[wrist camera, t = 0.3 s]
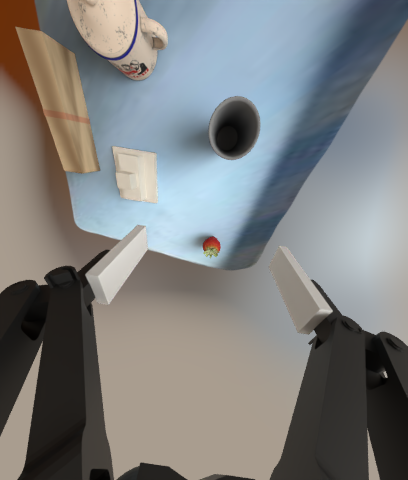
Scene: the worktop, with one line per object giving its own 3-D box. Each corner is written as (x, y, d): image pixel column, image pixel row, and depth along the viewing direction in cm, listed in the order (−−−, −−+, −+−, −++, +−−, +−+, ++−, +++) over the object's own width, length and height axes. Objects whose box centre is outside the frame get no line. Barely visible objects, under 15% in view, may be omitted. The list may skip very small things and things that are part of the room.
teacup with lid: (113, 77, 28) (57, 38, 19) (104, -2, 24) (23, -111, 14) (173, 90, 29) (151, 59, 19) (177, 14, 24) (148, -81, 14)
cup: (230, 162, 35) (237, 169, 22) (206, 144, 33) (199, 140, 20) (249, 132, 31) (271, 120, 19) (223, 111, 30) (228, 81, 17)
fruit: (204, 245, 47) (202, 261, 41) (203, 231, 45) (201, 245, 38) (220, 245, 47) (220, 261, 40) (220, 231, 44) (220, 245, 37)
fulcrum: (114, 146, 35) (93, 145, 29) (156, 153, 35) (143, 153, 29) (122, 196, 41) (106, 204, 35) (157, 202, 41) (147, 210, 35)
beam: (84, 167, 38) (63, 170, 32) (53, 50, 27) (14, 26, 22) (100, 170, 38) (81, 173, 33) (74, 53, 27) (41, 31, 22)
